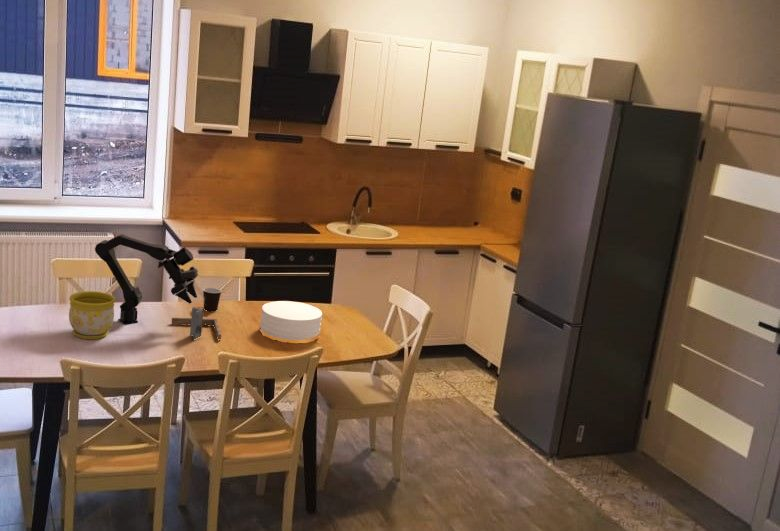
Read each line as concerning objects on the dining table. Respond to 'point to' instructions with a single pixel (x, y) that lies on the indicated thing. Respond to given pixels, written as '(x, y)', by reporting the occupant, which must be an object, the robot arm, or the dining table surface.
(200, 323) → the bracket
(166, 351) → the dining table surface
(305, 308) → the plate stack
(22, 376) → the dining table surface
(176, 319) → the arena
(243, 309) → the dining table surface
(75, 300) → the flowerpot
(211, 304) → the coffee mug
